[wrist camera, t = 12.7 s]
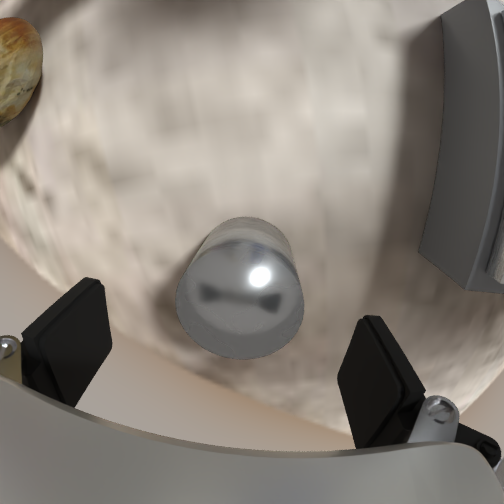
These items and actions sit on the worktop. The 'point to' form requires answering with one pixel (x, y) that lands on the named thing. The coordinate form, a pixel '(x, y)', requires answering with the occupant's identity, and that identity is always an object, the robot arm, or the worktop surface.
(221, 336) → the cylinder
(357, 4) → the worktop surface
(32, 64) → the onion
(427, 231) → the base
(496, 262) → the pan
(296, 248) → the worktop surface
